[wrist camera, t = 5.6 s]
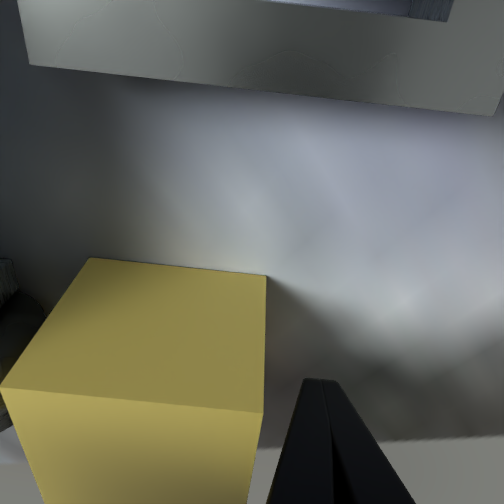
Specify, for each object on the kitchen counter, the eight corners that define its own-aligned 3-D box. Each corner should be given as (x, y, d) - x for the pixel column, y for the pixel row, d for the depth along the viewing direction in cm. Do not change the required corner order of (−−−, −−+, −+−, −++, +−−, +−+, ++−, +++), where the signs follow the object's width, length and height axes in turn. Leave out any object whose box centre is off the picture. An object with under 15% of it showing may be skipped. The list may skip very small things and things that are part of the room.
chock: (266, 275, 9) (263, 413, 6) (249, 389, 11) (241, 530, 8) (89, 257, 9) (-1, 387, 6) (107, 375, 11) (47, 511, 8)
